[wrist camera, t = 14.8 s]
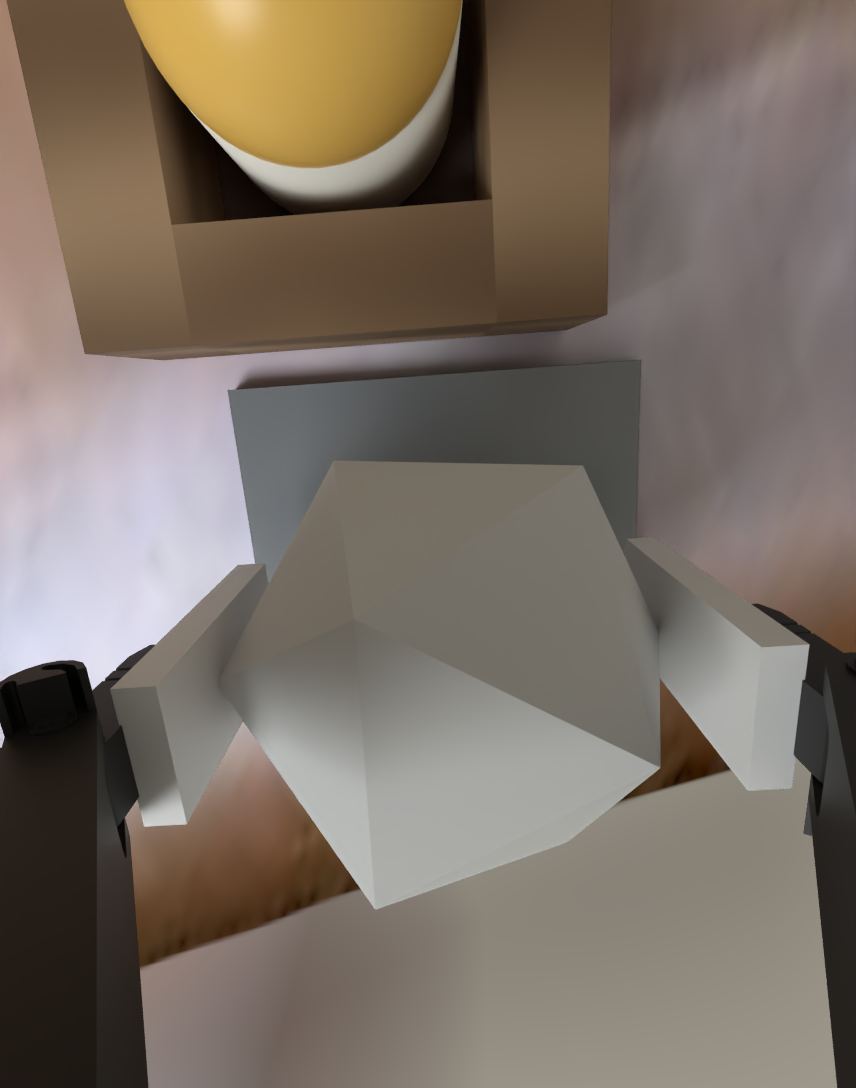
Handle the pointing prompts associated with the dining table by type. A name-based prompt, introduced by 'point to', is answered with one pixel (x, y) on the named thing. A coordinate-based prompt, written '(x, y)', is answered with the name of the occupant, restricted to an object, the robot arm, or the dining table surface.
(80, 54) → the brown square tray
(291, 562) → the die
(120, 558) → the dining table surface
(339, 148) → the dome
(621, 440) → the coaster
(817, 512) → the dining table surface
